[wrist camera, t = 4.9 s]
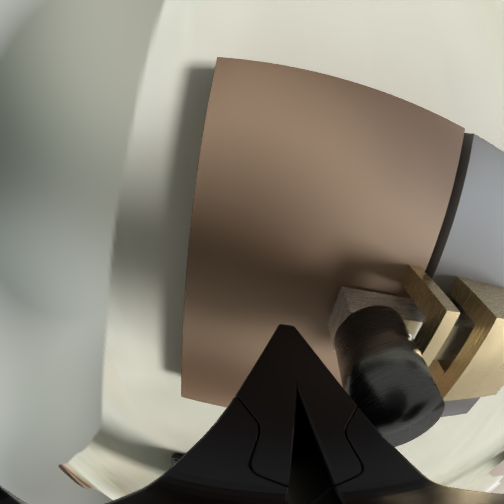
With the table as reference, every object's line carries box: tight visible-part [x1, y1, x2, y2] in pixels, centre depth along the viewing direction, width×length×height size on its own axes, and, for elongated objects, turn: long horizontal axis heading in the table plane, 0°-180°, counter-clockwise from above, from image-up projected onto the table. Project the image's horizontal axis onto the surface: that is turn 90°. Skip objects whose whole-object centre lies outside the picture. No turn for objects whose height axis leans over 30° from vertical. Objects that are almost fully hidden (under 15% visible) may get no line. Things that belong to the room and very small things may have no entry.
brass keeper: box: [401, 265, 504, 401], centre depth 9 cm, size 4×7×3 cm, turn 80°
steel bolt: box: [328, 286, 476, 447], centre depth 7 cm, size 2×8×5 cm, turn 80°
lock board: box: [181, 57, 504, 417], centre depth 11 cm, size 15×19×2 cm
